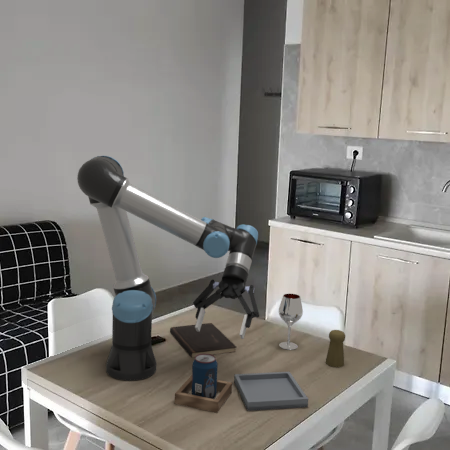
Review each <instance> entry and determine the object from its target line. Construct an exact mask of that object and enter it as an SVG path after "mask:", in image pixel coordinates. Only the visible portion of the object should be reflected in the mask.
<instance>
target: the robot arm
mask: <svg viewBox="0 0 450 450" xmlns="http://www.w3.org/2000/svg"><path fill="white" fill-rule="evenodd" d="M124 173H125V172H124V169H123V167H122V165H121V163H120V162H119V161H118V160H117V159H115V158H114V157H112V156H109V155H97V156H94V157H92V158H91V159H88V160H87V161H85V162H84V163H83V164H82V165H81V167H80V168H79V169H78V173H77V177H76V178H77V179H76V180H77V184H78V187H79V189H80V190H81V192H82V193H84V195H86V196H87V197H88V201H89V205H90V206H93V207H94V208H95V209H96V211H97V215H98V218H99V221H100V225H101V229H102V232H103V233H102V234H103V236H104V239H105V243H106V247H107V251H108V255H109V259H110V262H111V266H112V270H113V273H114V276H115V281H114V284H113V285H112V287H113V291H114V294H115V296H114V297H113V300H112V305H111V311H112V312H111V313H112V324H111V325H112V326H111V327H112V331H111V332H112V336H111V337H112V338H111V339H112V342H111V343H112V346H111V349H110V352H109V354H108V357H107V360H106V363H105V364H106V365H105V369H106V370H105V372H106V373H107V375H108V376H109V377H111V378H114V379H116V380H118V381H119V380H120V381H129V382H130V381H139V380H140V381H141V380H145V379H148V378H149V377H152V376H153V375H154V374H155V373H156V372H157V363H158V362H157V360H156V355H155V353H154V349H153V346H152V325H153V324H152V322H153V316H154V311H155V309H156V306H157V305H156V304H157V295H156V292H155V290H154V288H153V287H152V284H151V282H150V277H149V276H148V275H147V274H145V273H144V272H143V270H142V265H141V262H140V258H139V255H138V250H137V246H136V242H135V239H134V235H133V231H132V226H131V224H130V220H129V216H128V214H129V213H130V214H132V215H133V216H135V217H137V218H139V219H142V220H143V221H145V222H147V223H149V224H151V225H154V226H156V227H157V228H159V229H161V230H164V231H166V232H167V233H169V234H171V235H173V236H175V237H178V238H179V239H182V240H184V241H185V242H187V243H190V244H191V245H193V246H195V247H196V248H199V249H201V250H203V251H204V252H205V254H206V255H208V256H209V257H211V258H214V259H220V258H222V257H224V256H225V255H226V254H227V253H229V254H228V256H227V260H226V263H225V268H224V270H223V273H222V276H221V280H220V281H219V282H218V281H216V280H215V279H210V282H209V284H208V286H207V287H206V288H204V290H203V291H202V292H201V293H200V294H199V295H198V297H196V298H195V299H194V301H193V302H192V304H193V307H194V308H195V309H196V314H195V318H196V323H195V325H196V326H195V328H196V330H197V331H198V332H200V328H201V325H202V324H203V321H204V318H205V316H206V315H205V314H206V311H205V310H206V309H207V308H208V307H210V306H212V305H213V304H214V303H216V302H217V301H218V300H221V299H222V298H225V299H232V300H236V299H237V300H238V301H239V302H240V304H241V306H242V307H243V309H244V311H245V313H246V314H244V315H243V316H244V317H243V319H242V323H241V327H240V331H239V337H240V339H241V340H242V339H243V340H244V339H245V335H246V330H247V329H250V327H251V324H252V321H253V319H254V318H260V313H259V309H258V305H257V302H256V297H255V293H256V292H255V291H256V289H255V287H254V284H249V286H246V284H247V280H248V277H249V272H250V269H251V266H252V263H253V262H252V261H253V258H254V255H255V250H256V247H257V245H258V238H259V232H258V230H257V228H255V227H254V226H253V225H250V224H239V225H237V226H236V228H235V227H232V226H229V225H228V224H225V223H222V222H219V221H217V220H215V219H213V218H210V217H206V216H204V217H201V219H200V218H198V217H196V216H194V215H192V214H190V213H188V212H186V211H184V210H183V209H181V208H178V207H177V206H174V205H173V204H171V203H169V202H167V201H165V200H163V199H162V198H159V197H157V196H155V195H153V194H151V193H149V192H147V191H145V190H143V189H141V188H139V187H137V186H135V185H134V184H131V183H130V180H129V178H127V177H125V176H124ZM217 288H218V289H217ZM214 290H216V291H215V292H214ZM213 292H214V293H213ZM245 292H246V293H247V294H248V295H249V297H250V303H251V306H252V310H253V311H252V310H251V309H250V307H249V305H248V303H247V302H246V300H245V298H244V297H243V295H242V294H244V293H245Z"/></svg>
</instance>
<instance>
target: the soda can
mask: <svg viewBox="0 0 450 450" xmlns="http://www.w3.org/2000/svg"><path fill="white" fill-rule="evenodd" d="M218 365H219V363H218V361H217V358H216V356H215V354H212V355H211V354H198V355H196V356H195V357H194V360H193V361H192V372H191V375H192V389H191V395H196V396H201V397H206V398H211V399H216V397H217V380H218Z"/></svg>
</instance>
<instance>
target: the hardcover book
mask: <svg viewBox="0 0 450 450" xmlns="http://www.w3.org/2000/svg"><path fill="white" fill-rule="evenodd" d="M195 326H196V324H189V325H180V326H171V327H170V328H169V332H170V334H171V335H172V336H173V337H174V339H176V341H177V342H178V343H179V345H180V346H181V347H182V348H183V349H184V350H185V352H186V353H187V354H188V356H190V357H191V358H195V356H196V355H198V354H211V355H219V354H220V355H221V354H227V353H234V352H236V349H237V346H236V345H235V344H234V343H233V342H232V341H231V340H230V339H229V338H228V337H227V336H226V335H225V334H224V333H223V332H222V331H221V330H220V329H218V328H217V327H216V326H215V325H214V323H212V322H209V323H202V325H201V328H200V332H198V331H197V330H196V328H195Z"/></svg>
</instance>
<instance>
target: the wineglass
mask: <svg viewBox="0 0 450 450" xmlns="http://www.w3.org/2000/svg"><path fill="white" fill-rule="evenodd" d="M278 307H279V308H278V315H279V317H280V319H281V320H282V321H283V322H284V323H285V324H286V325H287V326H288V327H287V328H288V329H287V340H286V341H282V342H280V343H279V344H278V345H279V347H280V348H281V349H283V350H287V351H288V350H289V351H293V350H296V349H298V347H299V346H298V344H296V343H294V342H292V341H291V328H292V327H293V325H294V324H295V323H297V322H298V321H300V320H301V318H302V317H303V313H304V311H303V304H302V299H301V295H299V294H297V293H296V294H295V293H284V294H283V295H282V298H281V301H280V304H279V306H278Z"/></svg>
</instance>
